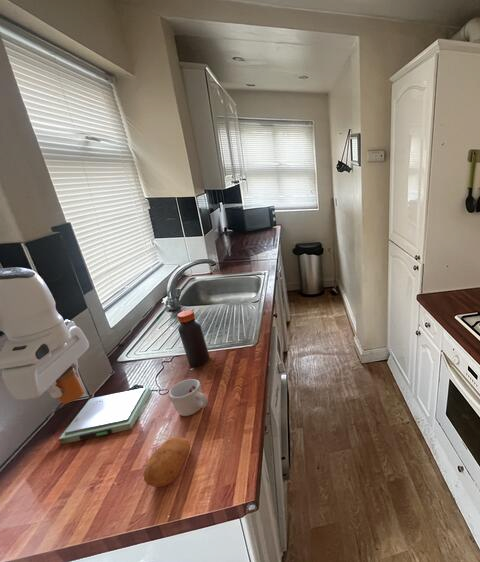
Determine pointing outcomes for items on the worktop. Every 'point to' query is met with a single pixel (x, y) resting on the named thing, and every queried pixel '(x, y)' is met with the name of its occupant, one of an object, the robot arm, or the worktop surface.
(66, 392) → the spice jar
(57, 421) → the worktop surface
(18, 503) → the worktop surface
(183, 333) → the bottle
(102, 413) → the scale
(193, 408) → the cup
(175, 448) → the potato
